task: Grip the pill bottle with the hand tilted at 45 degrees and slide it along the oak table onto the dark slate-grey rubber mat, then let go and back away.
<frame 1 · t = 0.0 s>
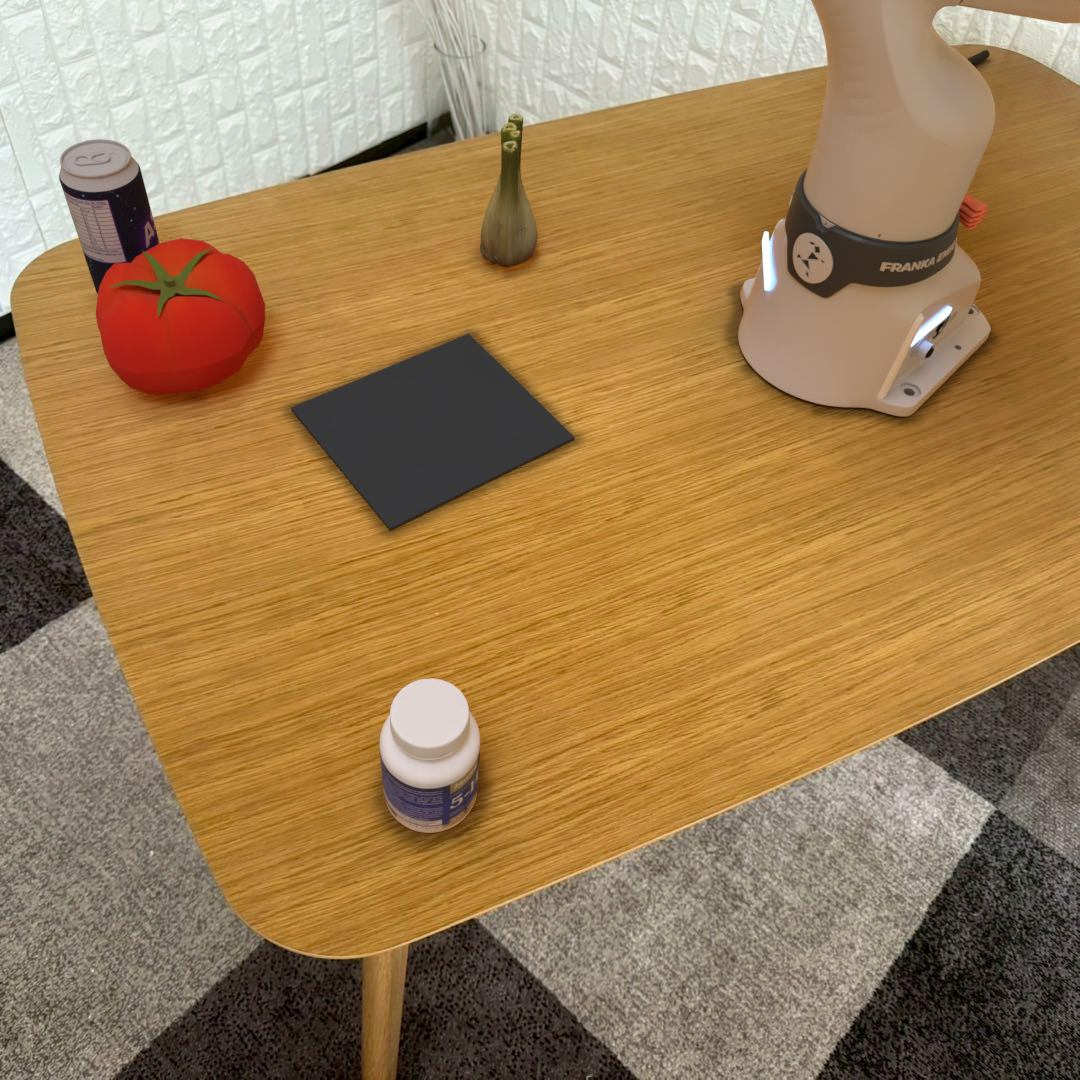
beverage can: (135, 293, 83), on the table
fennel bulb: (508, 258, 90), on the table
mat: (432, 425, 76), on the table
tomato: (188, 363, 79), on the table
pill bottle: (431, 791, 58), on the table
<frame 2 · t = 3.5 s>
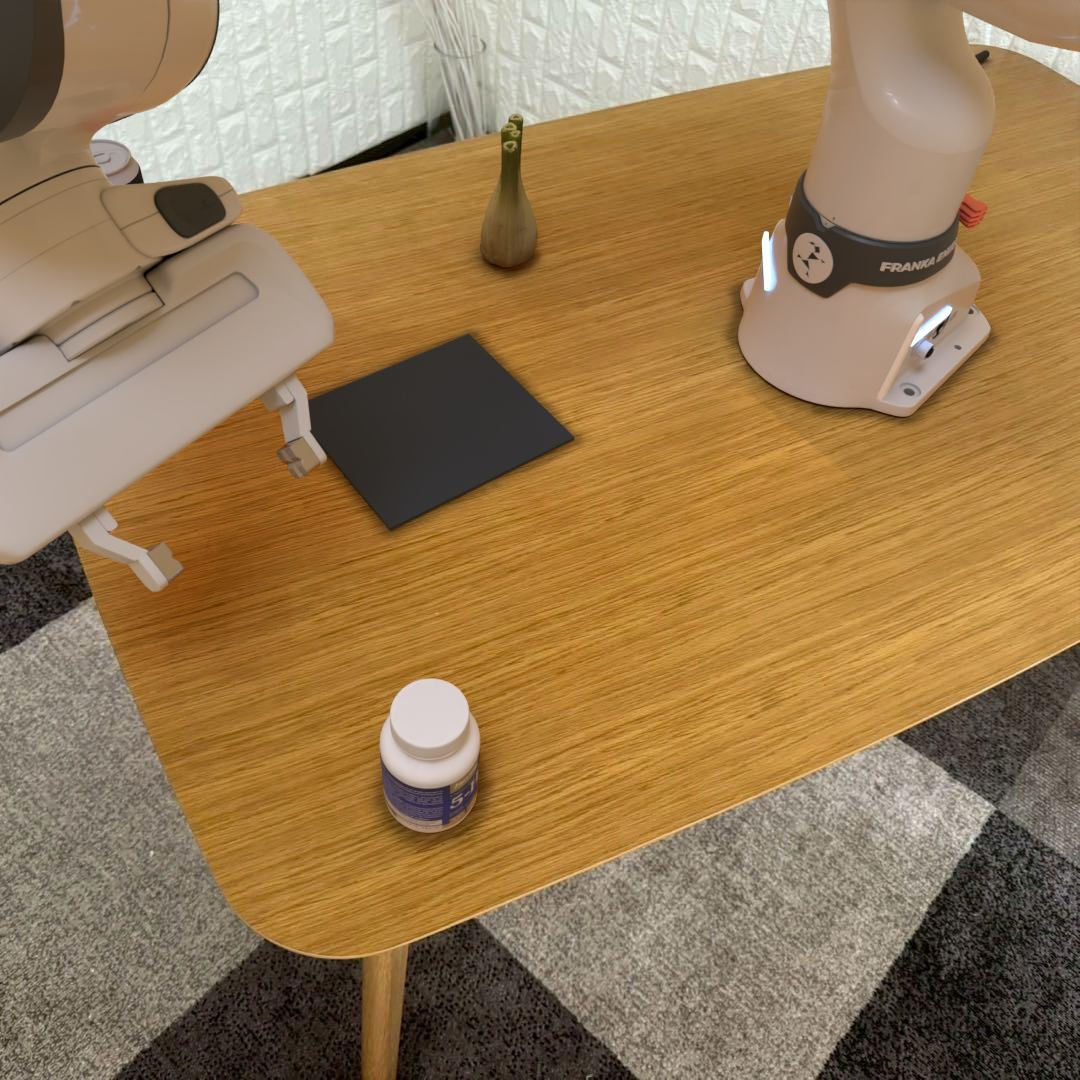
hand: (244, 523, 50), 14 cm above the table, tool tilted 45°, fingers open, 8 cm apart
nothing on the table moved.
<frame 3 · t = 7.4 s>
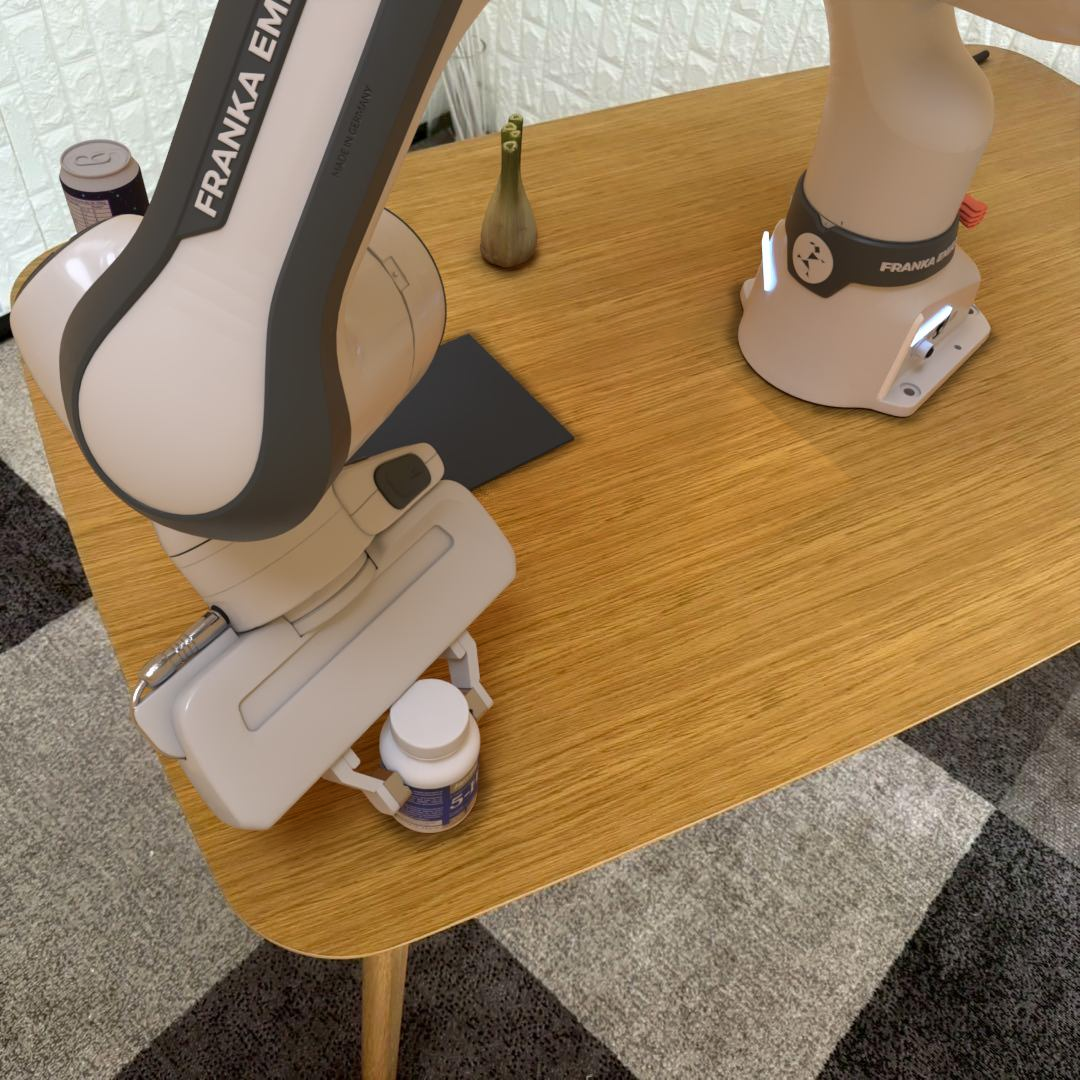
hand: (440, 757, 54), 5 cm above the table, tool tilted 45°, fingers closed on pill bottle, 5 cm apart
pill bottle: (431, 792, 58), on the table, touching gripper
everything else where it was.
when the fingers open (5 cm above the table, at t = 14.6 s): pill bottle stays where it is, resting on mat.
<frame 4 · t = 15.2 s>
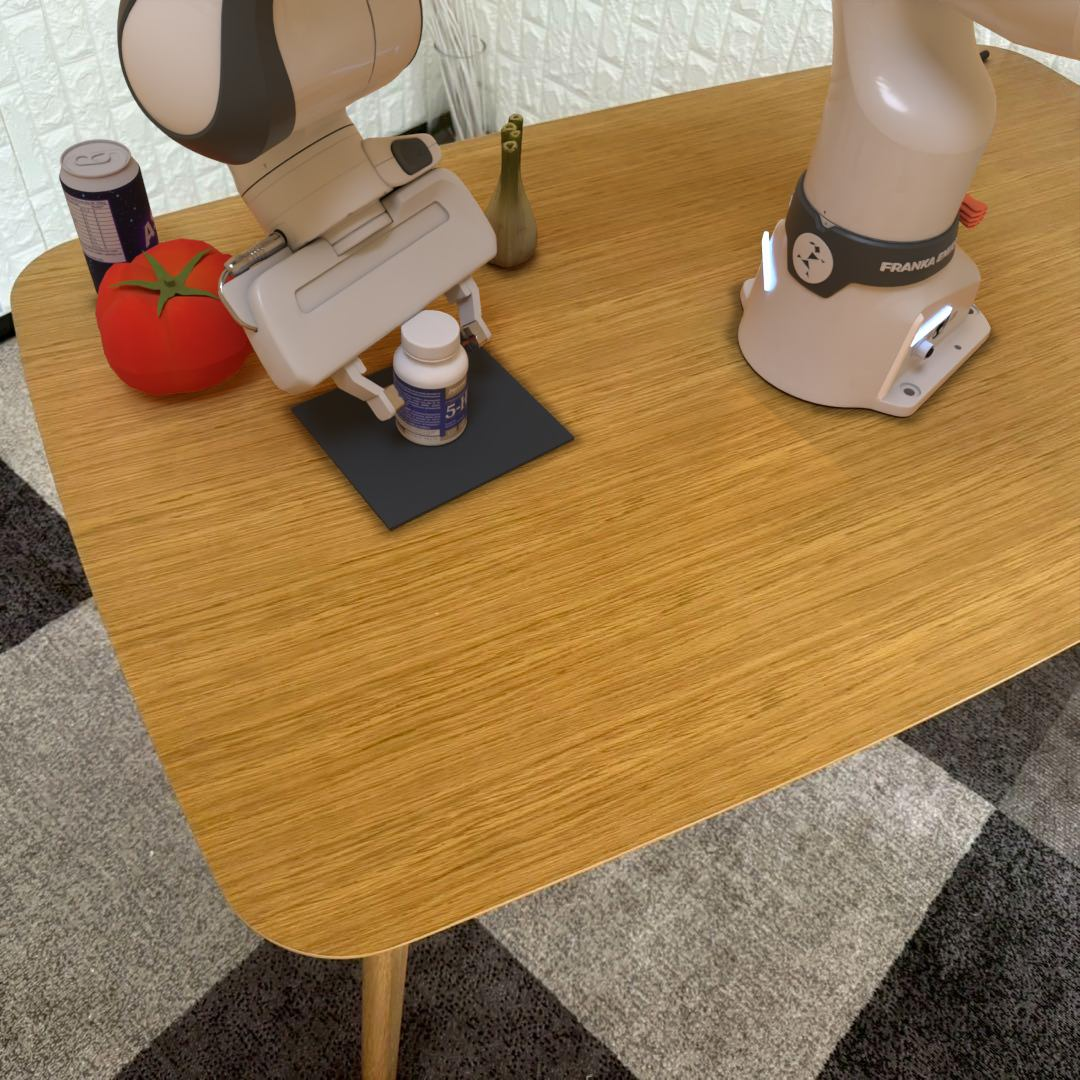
hand: (438, 378, 72), 5 cm above the table, tool tilted 45°, fingers open, 8 cm apart
pill bottle: (431, 424, 76), resting on mat
everything else where it was.
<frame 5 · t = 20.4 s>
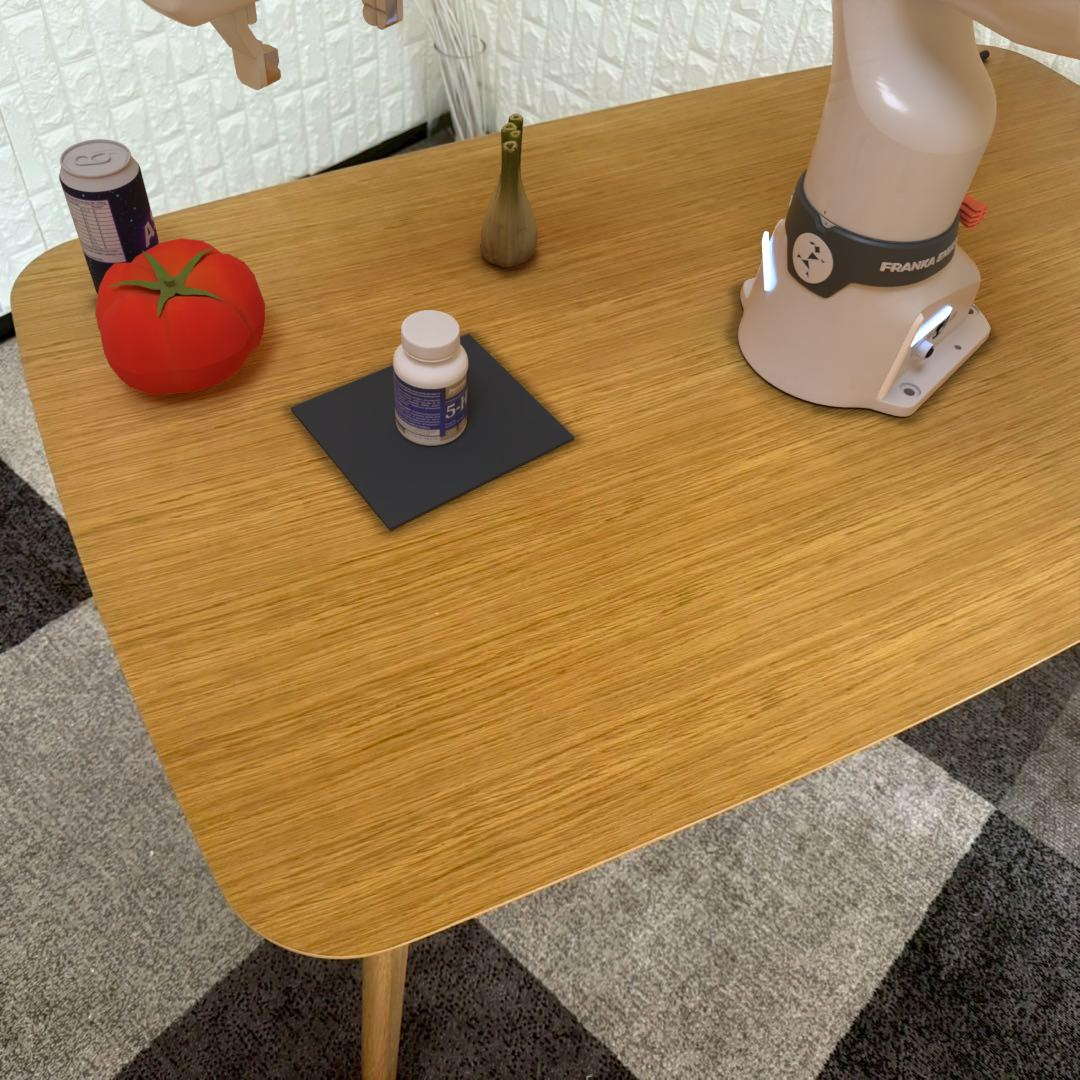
hand: (324, 51, 55), 27 cm above the table, tool pointing down, fingers open, 8 cm apart
nothing on the table moved.
at the end: pill bottle inside the target area on the mat (0.1 cm from its centre), point 0.1 cm above the mat's base; pill bottle tilted 0°; pill bottle moved 29.2 cm from its start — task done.
